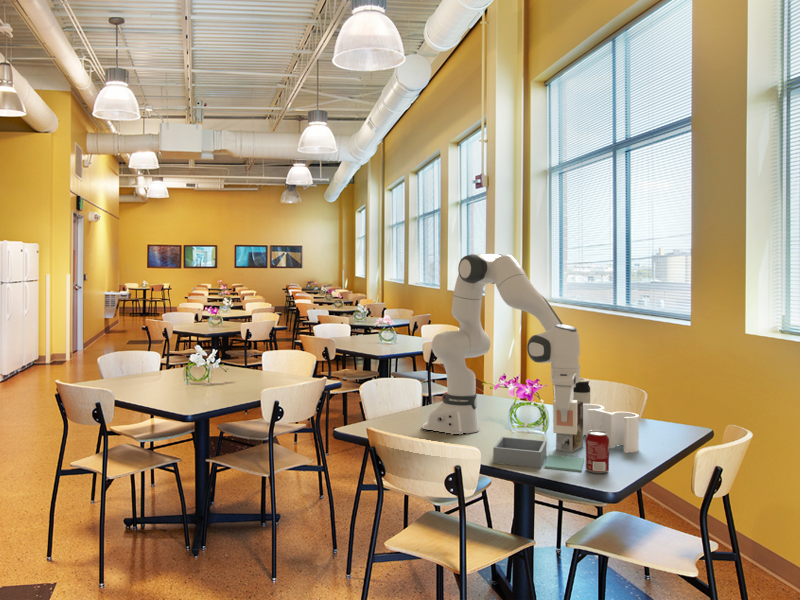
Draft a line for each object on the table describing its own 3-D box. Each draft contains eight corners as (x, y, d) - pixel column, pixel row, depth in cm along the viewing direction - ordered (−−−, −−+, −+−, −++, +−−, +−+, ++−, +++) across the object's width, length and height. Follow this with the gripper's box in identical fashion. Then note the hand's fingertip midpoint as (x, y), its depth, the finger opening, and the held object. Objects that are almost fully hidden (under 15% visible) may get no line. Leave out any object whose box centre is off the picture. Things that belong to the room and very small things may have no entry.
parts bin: (493, 463, 190) (493, 447, 190) (501, 451, 203) (501, 436, 203) (541, 468, 184) (541, 452, 184) (546, 455, 198) (546, 440, 197)
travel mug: (570, 424, 239) (571, 380, 239) (568, 420, 247) (569, 377, 247) (591, 425, 238) (591, 381, 237) (588, 421, 246) (588, 378, 245)
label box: (576, 434, 185) (576, 402, 185) (553, 432, 187) (553, 401, 187) (577, 431, 189) (577, 400, 189) (554, 429, 192) (554, 398, 191)
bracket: (645, 449, 204) (645, 415, 204) (626, 454, 199) (627, 418, 199) (587, 433, 226) (588, 402, 225) (570, 437, 221) (570, 405, 220)
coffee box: (566, 443, 212) (566, 398, 212) (583, 446, 208) (583, 401, 207) (555, 449, 205) (555, 403, 204) (573, 452, 201) (573, 405, 200)
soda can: (608, 475, 177) (608, 436, 177) (584, 473, 180) (585, 434, 179) (609, 469, 183) (609, 430, 183) (586, 466, 186) (586, 428, 185)
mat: (544, 468, 185) (544, 466, 185) (549, 456, 197) (549, 454, 197) (581, 471, 181) (581, 470, 181) (583, 459, 193) (583, 458, 193)
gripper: (558, 370, 199) (558, 411, 199) (551, 380, 179) (551, 425, 180) (577, 371, 196) (577, 413, 197) (573, 381, 177) (573, 427, 178)
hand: (565, 419), depth 188 cm, fingers closed on label box, 5 cm apart
